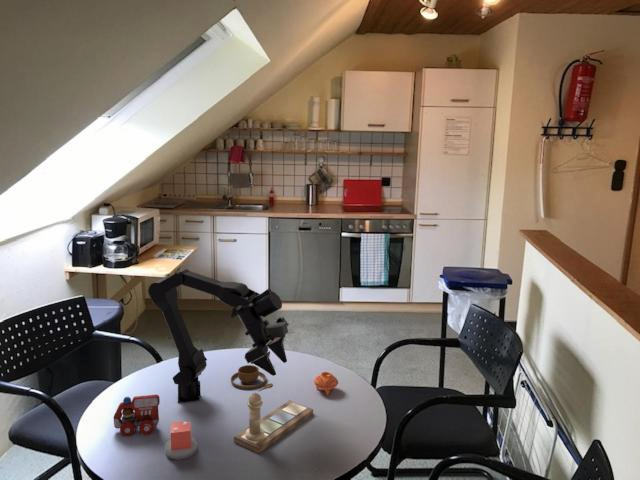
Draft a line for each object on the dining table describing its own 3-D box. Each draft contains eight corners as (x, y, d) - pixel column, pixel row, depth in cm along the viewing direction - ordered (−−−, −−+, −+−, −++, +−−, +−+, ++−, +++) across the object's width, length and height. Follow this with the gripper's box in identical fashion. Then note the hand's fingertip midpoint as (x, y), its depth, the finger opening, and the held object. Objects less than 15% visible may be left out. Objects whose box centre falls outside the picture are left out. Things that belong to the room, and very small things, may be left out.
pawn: (246, 441, 146) (246, 398, 144) (244, 431, 151) (244, 390, 148) (265, 439, 147) (265, 397, 145) (262, 429, 152) (262, 388, 150)
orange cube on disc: (165, 461, 140) (164, 435, 138) (166, 443, 147) (165, 418, 146) (197, 457, 142) (196, 431, 140) (196, 440, 149) (195, 415, 148)
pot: (310, 394, 176) (311, 373, 176) (317, 389, 183) (318, 369, 183) (334, 397, 173) (335, 376, 174) (340, 392, 181) (341, 372, 181)
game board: (259, 453, 144) (259, 447, 144) (233, 441, 149) (233, 436, 149) (313, 413, 164) (313, 408, 164) (289, 404, 169) (289, 399, 169)
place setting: (217, 380, 186) (217, 364, 184) (260, 362, 201) (260, 347, 199) (252, 397, 175) (252, 380, 173) (295, 376, 189) (295, 361, 188)
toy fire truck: (117, 424, 156) (115, 391, 154) (161, 421, 158) (160, 388, 156) (112, 438, 149) (110, 403, 147) (159, 434, 152) (158, 400, 150)
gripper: (263, 322, 149) (291, 371, 149) (286, 302, 167) (311, 345, 167) (232, 338, 153) (260, 386, 153) (258, 317, 170) (283, 359, 171)
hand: (280, 368), depth 161 cm, fingers open, 9 cm apart
